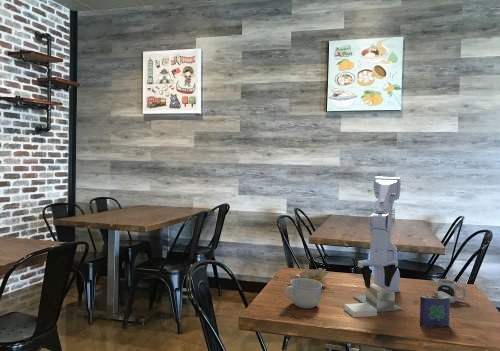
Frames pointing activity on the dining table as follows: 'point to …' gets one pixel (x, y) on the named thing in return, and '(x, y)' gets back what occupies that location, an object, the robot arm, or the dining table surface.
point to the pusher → (380, 296)
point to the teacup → (304, 292)
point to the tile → (360, 310)
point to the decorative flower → (313, 275)
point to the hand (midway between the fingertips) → (377, 286)
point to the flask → (434, 310)
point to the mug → (449, 289)
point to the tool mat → (365, 300)
